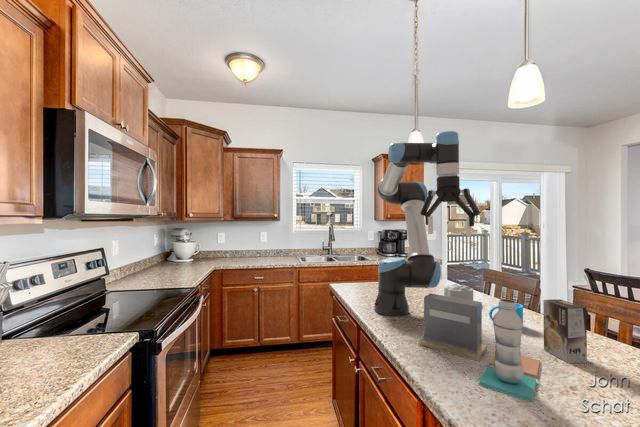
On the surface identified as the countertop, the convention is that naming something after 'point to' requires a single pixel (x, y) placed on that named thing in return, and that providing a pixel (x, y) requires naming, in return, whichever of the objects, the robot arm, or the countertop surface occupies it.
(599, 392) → the countertop surface
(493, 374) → the teal pad
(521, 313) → the mug
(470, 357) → the box
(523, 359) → the terracotta pad
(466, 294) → the lumpy-topped squat cylinder
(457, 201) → the robot arm
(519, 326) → the plastic bottle
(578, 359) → the coffee box
